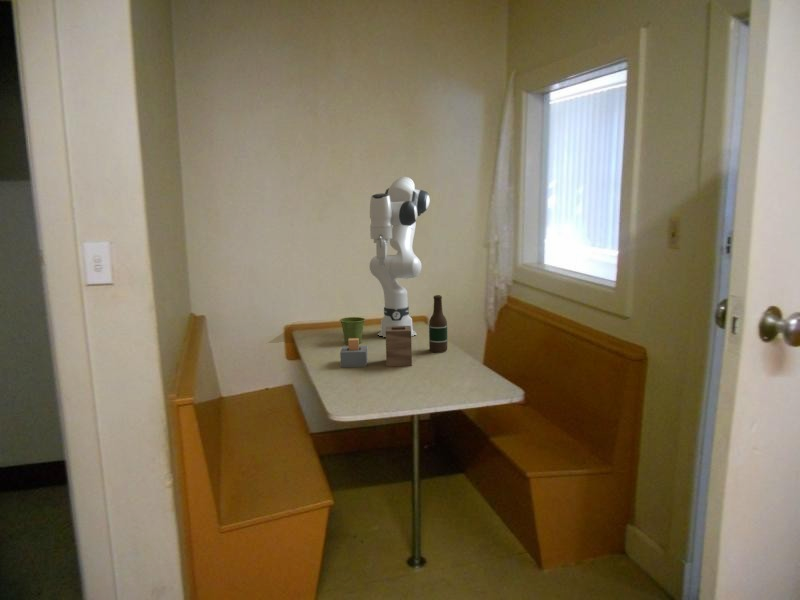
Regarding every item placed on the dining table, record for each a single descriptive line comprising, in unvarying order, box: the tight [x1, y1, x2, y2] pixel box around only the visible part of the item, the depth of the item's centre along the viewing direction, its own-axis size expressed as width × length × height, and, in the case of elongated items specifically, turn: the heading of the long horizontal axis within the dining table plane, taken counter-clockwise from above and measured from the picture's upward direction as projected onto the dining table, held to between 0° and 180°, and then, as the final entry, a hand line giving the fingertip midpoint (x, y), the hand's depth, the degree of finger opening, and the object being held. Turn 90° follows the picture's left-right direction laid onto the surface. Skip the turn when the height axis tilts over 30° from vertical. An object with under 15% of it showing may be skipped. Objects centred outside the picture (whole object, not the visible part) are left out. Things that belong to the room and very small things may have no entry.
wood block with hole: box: [385, 326, 413, 367], centre depth 239 cm, size 10×10×14 cm
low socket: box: [339, 345, 369, 368], centre depth 240 cm, size 10×10×6 cm
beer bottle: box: [428, 294, 448, 353], centre depth 256 cm, size 8×8×24 cm
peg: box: [347, 338, 360, 351], centre depth 240 cm, size 3×4×8 cm
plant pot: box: [339, 316, 366, 345], centre depth 274 cm, size 12×12×11 cm
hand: (382, 268), depth 244 cm, fingers open, 8 cm apart
